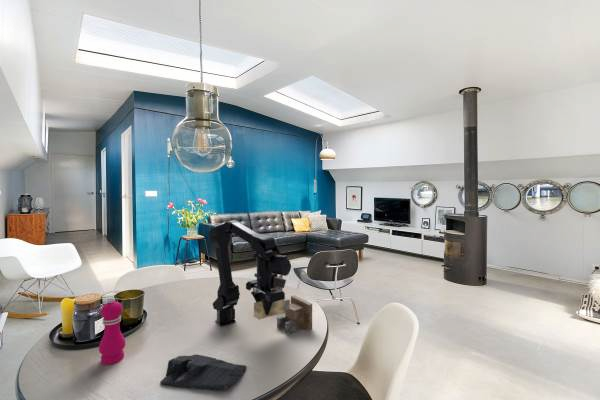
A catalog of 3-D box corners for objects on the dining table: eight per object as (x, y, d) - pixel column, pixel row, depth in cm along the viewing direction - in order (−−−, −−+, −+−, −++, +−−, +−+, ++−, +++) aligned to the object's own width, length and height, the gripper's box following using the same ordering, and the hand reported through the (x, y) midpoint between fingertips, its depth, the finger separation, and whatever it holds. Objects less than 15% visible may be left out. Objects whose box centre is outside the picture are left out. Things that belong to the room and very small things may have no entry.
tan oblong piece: (258, 319, 106) (258, 305, 106) (254, 316, 109) (254, 303, 109) (290, 310, 115) (291, 297, 115) (285, 307, 118) (285, 294, 118)
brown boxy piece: (291, 336, 110) (291, 310, 110) (273, 325, 120) (273, 300, 119) (312, 329, 116) (312, 303, 116) (293, 318, 126) (293, 295, 125)
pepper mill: (120, 350, 100) (119, 292, 100) (129, 358, 96) (128, 296, 95) (95, 360, 95) (94, 298, 94) (103, 368, 90) (102, 303, 90)
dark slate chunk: (224, 401, 77) (224, 383, 77) (154, 385, 83) (154, 368, 83) (250, 367, 92) (250, 352, 91) (190, 356, 98) (189, 342, 98)
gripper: (297, 273, 107) (297, 315, 107) (269, 263, 122) (269, 300, 122) (270, 278, 100) (270, 324, 101) (245, 267, 115) (245, 307, 115)
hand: (264, 313), depth 110 cm, fingers closed on tan oblong piece, 3 cm apart
